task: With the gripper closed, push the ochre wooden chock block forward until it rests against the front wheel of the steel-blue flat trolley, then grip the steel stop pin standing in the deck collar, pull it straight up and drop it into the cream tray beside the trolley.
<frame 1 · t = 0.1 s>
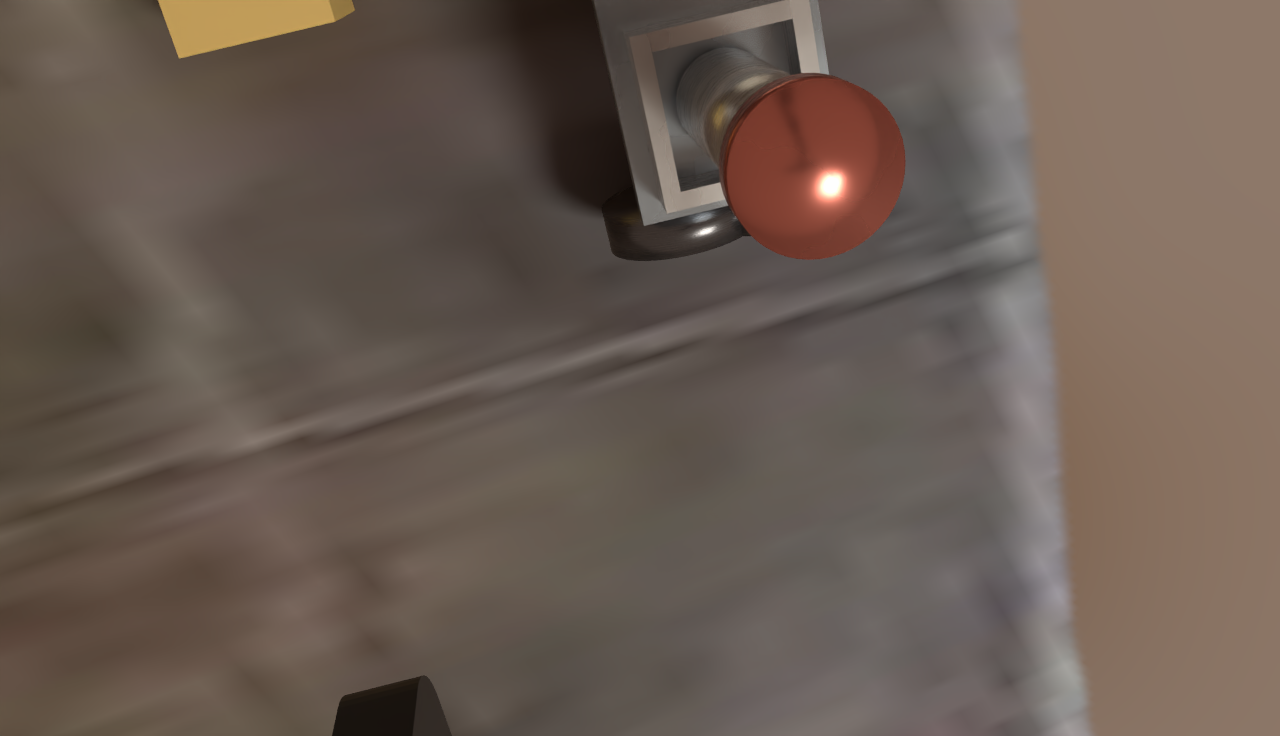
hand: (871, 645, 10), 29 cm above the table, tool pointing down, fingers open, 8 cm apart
trolley: (684, 27, 36), on the table
stop pin: (725, 99, 32), point 6 cm above the table, touching trolley
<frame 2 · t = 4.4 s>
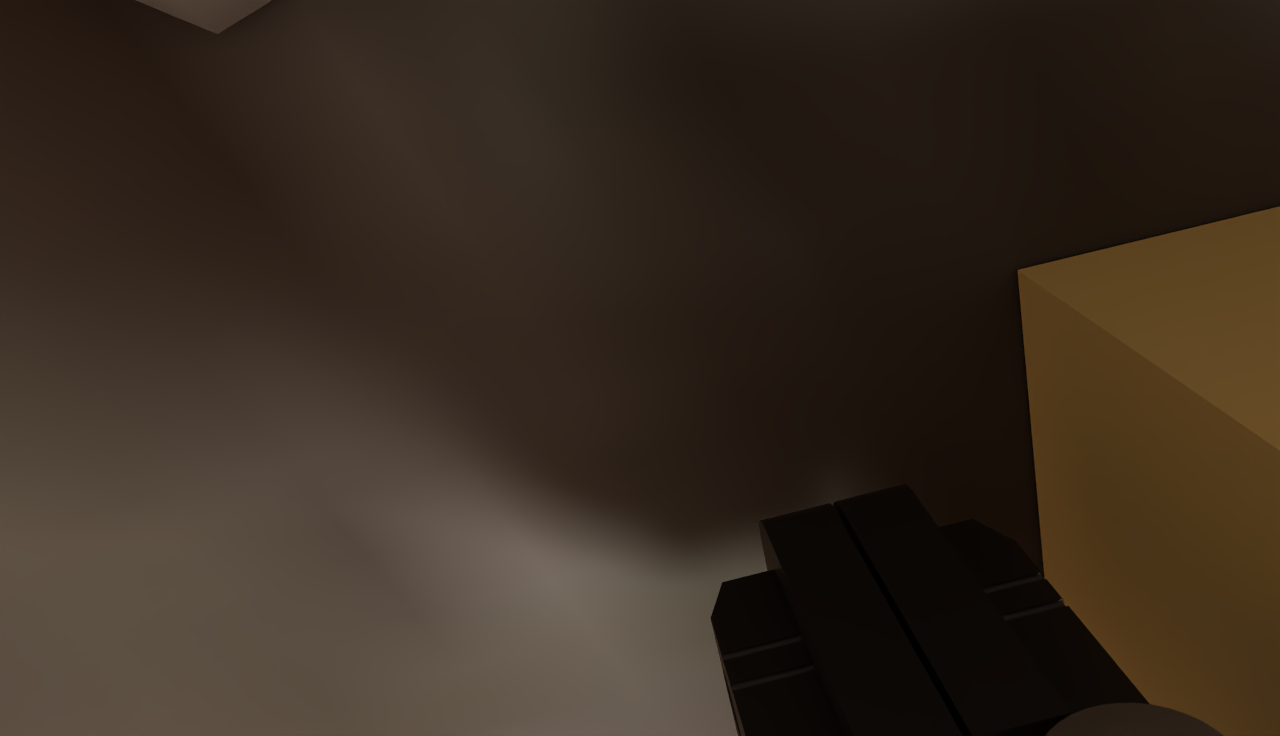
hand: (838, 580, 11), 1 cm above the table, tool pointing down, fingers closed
chock: (1228, 435, 12), on the table, touching gripper
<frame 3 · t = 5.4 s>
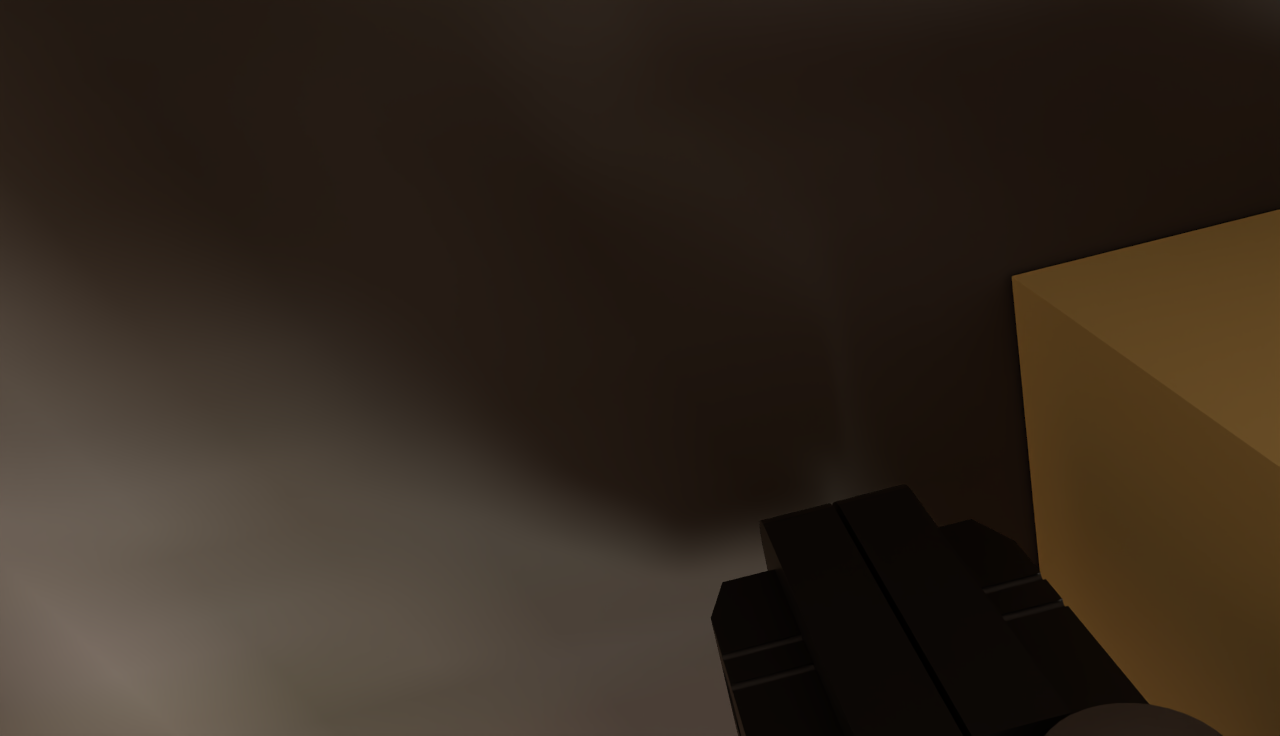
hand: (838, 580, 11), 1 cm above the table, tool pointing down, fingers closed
chock: (1223, 438, 12), on the table, touching gripper, trolley
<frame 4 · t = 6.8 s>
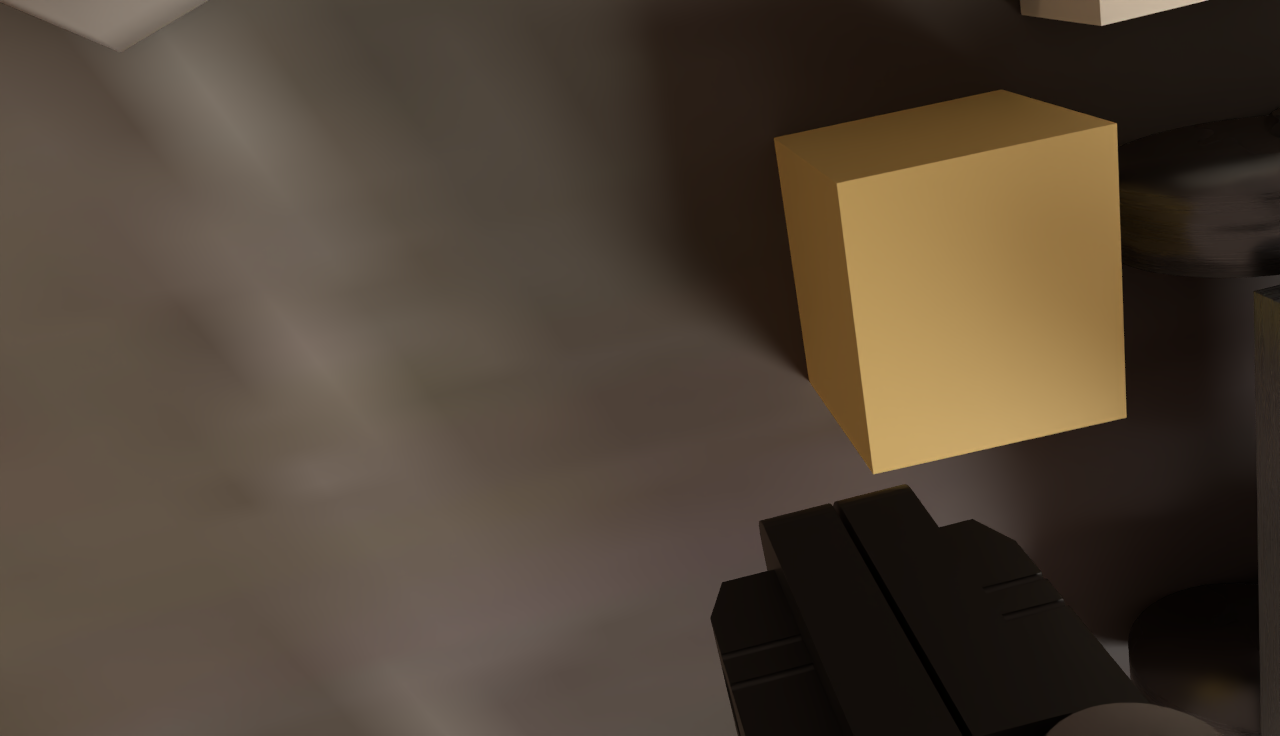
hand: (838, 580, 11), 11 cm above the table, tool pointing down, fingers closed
trolley: (1253, 390, 24), on the table
chock: (900, 239, 22), on the table
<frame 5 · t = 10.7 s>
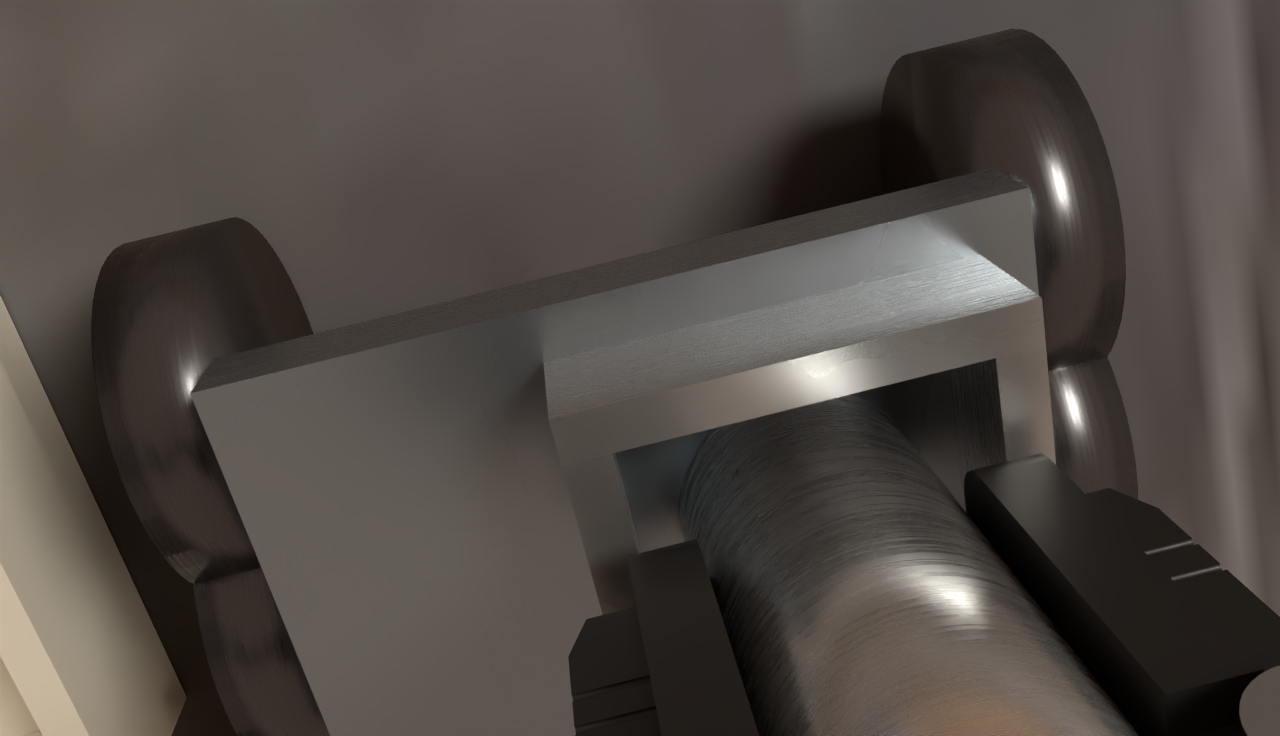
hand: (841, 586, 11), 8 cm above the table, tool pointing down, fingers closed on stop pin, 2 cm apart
trolley: (622, 353, 18), on the table
stop pin: (800, 500, 13), point 6 cm above the table, touching gripper, trolley
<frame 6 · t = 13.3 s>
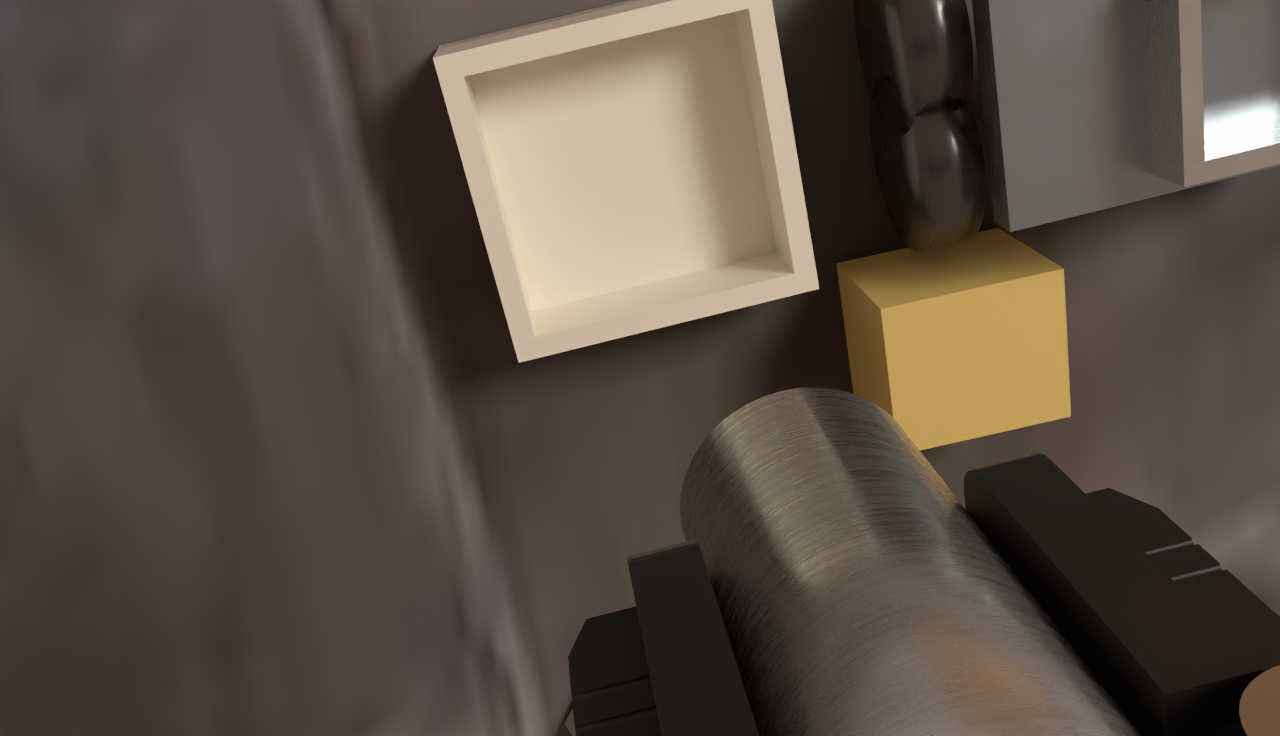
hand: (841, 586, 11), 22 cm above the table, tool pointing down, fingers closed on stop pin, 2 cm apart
tray: (625, 157, 32), on the table
trolley: (1069, 42, 32), on the table
stop pin: (801, 500, 13), point 20 cm above the table, touching gripper
chock: (923, 312, 35), on the table
when the fingers open (4 cm above the table, at t = 16.2 s): stop pin drops 1 cm, resting on tray.
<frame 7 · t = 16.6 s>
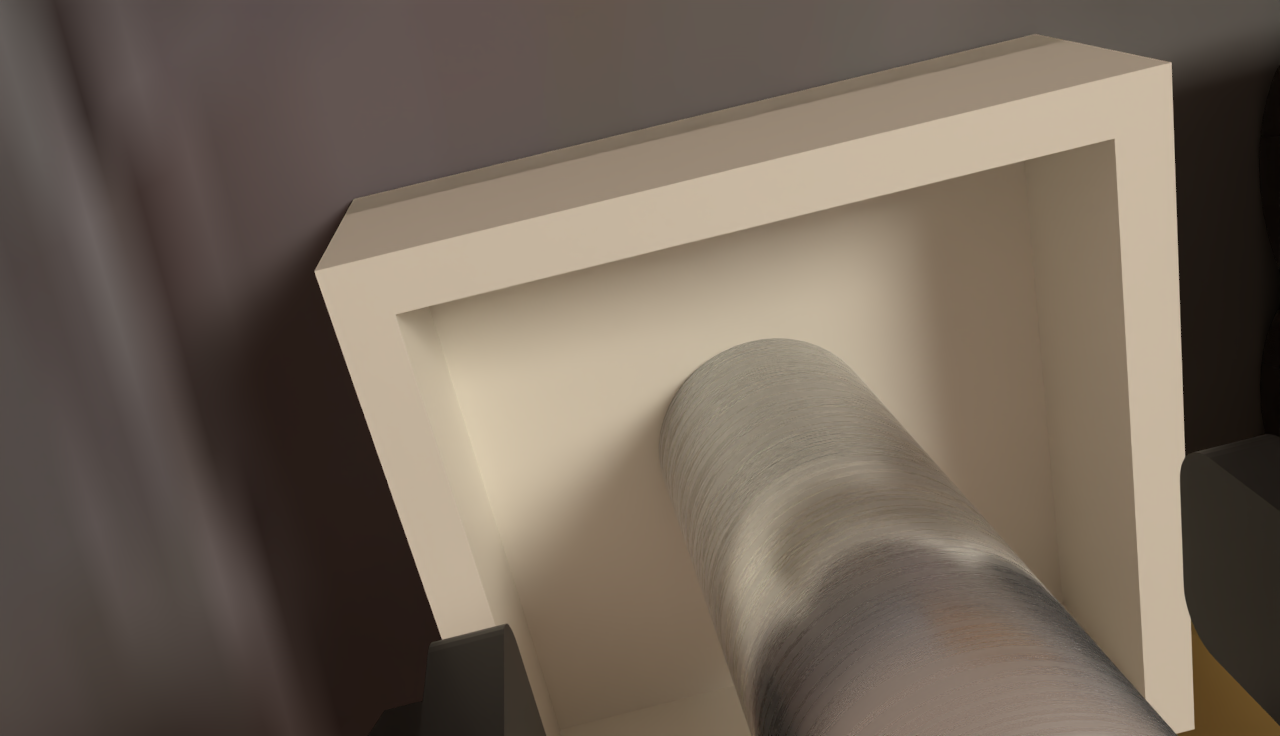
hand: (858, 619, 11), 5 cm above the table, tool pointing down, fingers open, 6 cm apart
tray: (756, 418, 15), on the table
stop pin: (768, 443, 14), point 1 cm above the table, touching tray
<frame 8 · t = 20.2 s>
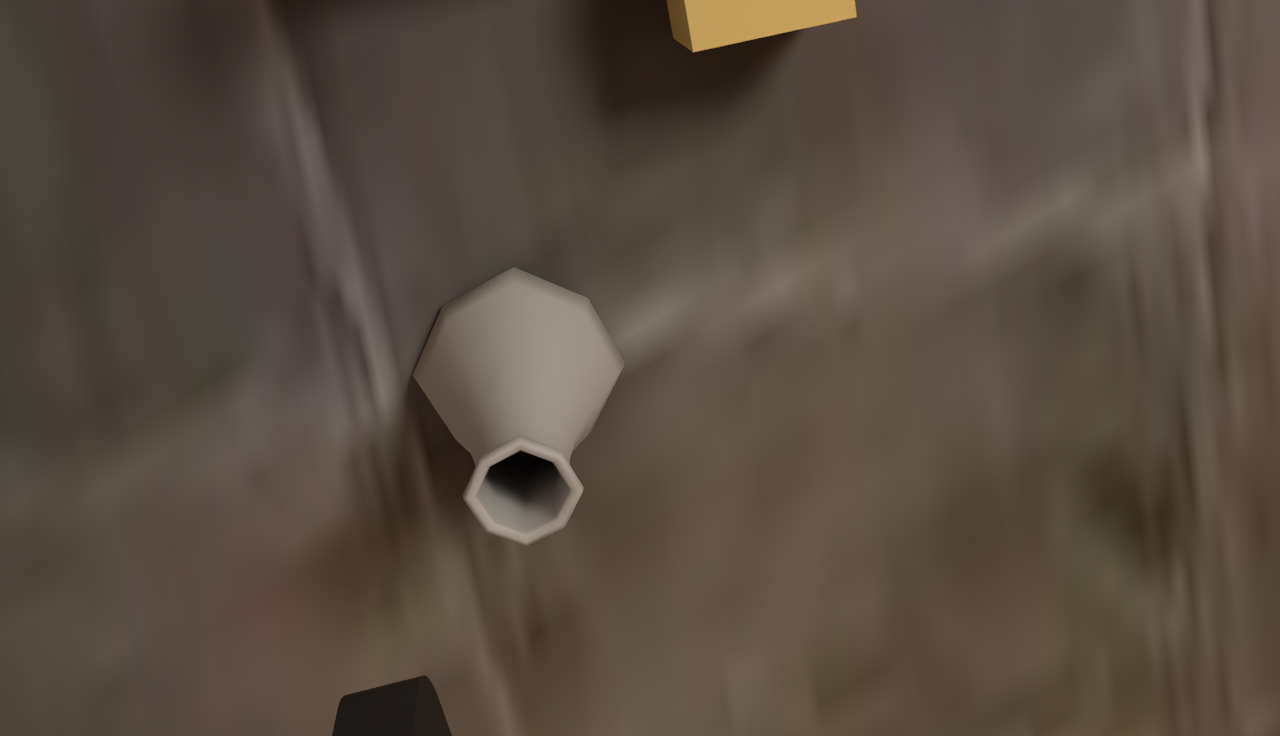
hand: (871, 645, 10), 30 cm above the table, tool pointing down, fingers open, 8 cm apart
flask: (519, 364, 41), on the table
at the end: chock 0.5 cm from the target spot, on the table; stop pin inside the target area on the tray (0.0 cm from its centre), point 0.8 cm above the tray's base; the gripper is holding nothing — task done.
